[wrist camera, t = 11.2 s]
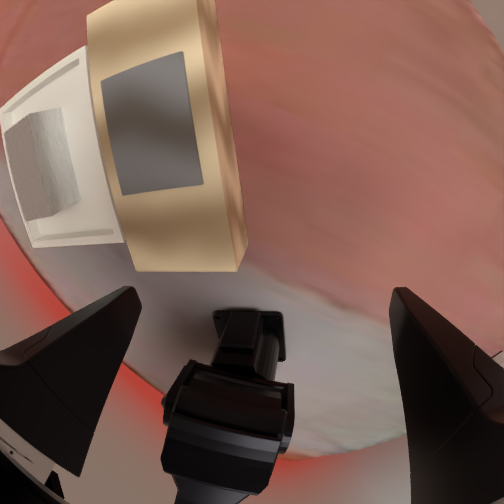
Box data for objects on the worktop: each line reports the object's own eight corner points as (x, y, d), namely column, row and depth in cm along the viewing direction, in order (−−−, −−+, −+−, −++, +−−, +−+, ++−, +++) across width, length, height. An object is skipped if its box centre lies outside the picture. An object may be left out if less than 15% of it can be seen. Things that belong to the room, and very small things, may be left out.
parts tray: (135, 232, 23) (124, 242, 21) (43, 240, 26) (33, 248, 25) (100, 47, 15) (85, 45, 13) (11, 106, 18) (-2, 109, 17)
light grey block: (81, 198, 22) (52, 216, 18) (52, 205, 23) (25, 221, 19) (61, 107, 18) (29, 113, 14) (33, 124, 19) (3, 133, 15)
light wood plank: (248, 243, 22) (236, 274, 18) (158, 246, 23) (134, 273, 20) (213, -11, 12) (190, -33, 9) (118, 23, 14) (84, 15, 10)
